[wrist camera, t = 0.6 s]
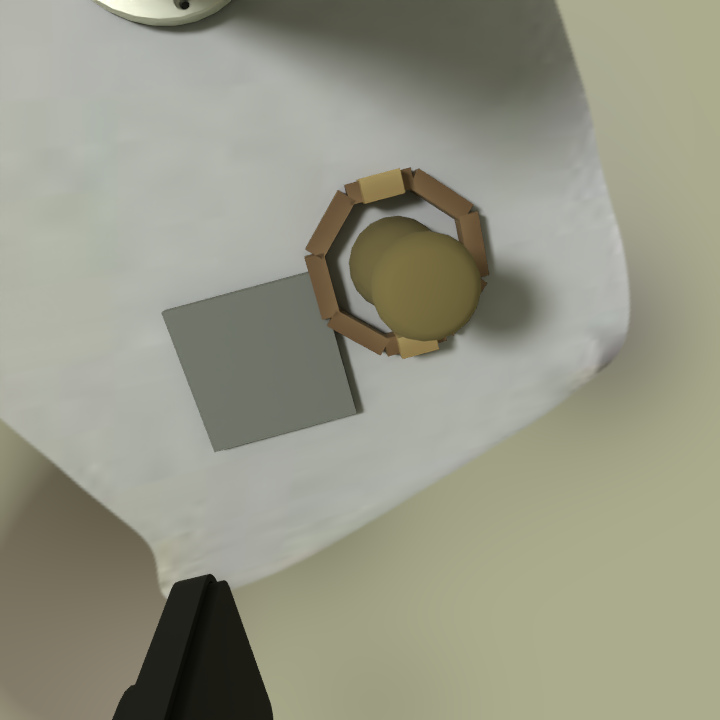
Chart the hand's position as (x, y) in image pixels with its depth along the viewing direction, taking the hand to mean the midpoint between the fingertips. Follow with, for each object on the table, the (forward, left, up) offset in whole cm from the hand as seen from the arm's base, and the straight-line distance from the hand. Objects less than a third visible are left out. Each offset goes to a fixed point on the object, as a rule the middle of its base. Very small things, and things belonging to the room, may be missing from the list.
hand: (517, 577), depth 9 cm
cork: (-1, +3, -27) cm, 27 cm away
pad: (+3, -7, -27) cm, 28 cm away
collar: (-1, +3, -27) cm, 27 cm away
